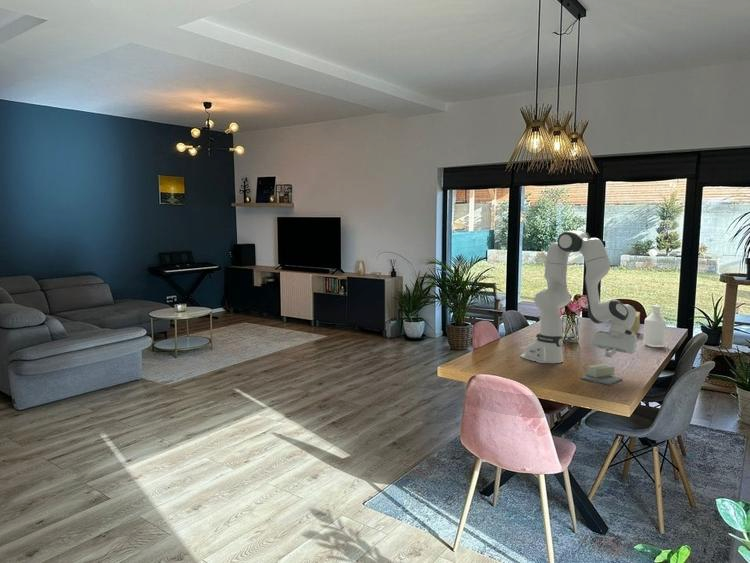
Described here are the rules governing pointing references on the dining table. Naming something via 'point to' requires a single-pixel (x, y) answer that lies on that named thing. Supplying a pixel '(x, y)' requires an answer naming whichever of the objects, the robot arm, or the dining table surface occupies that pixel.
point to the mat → (602, 379)
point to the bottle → (655, 327)
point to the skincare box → (600, 370)
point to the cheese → (636, 324)
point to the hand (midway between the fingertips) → (607, 356)
